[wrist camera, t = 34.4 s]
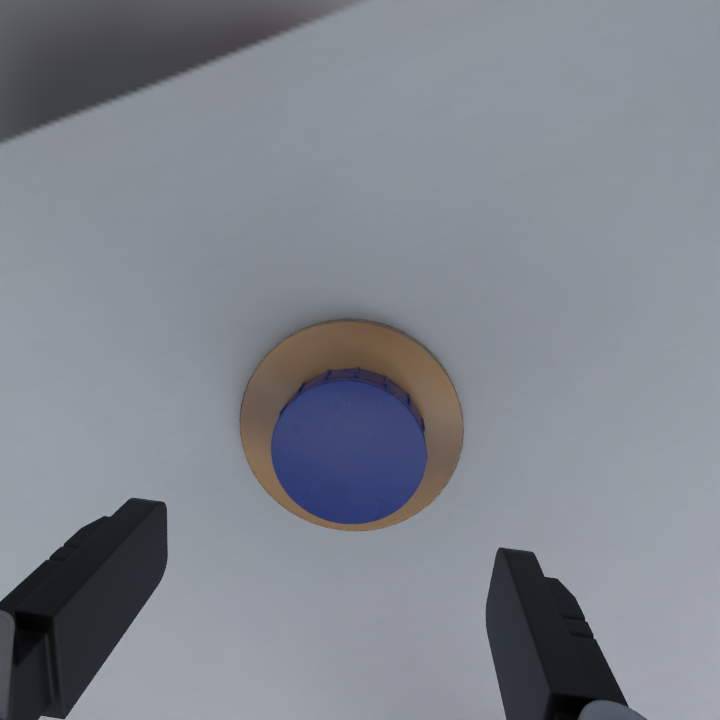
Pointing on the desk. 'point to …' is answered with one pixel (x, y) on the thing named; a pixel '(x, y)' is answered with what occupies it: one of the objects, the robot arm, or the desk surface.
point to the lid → (349, 446)
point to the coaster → (351, 350)
